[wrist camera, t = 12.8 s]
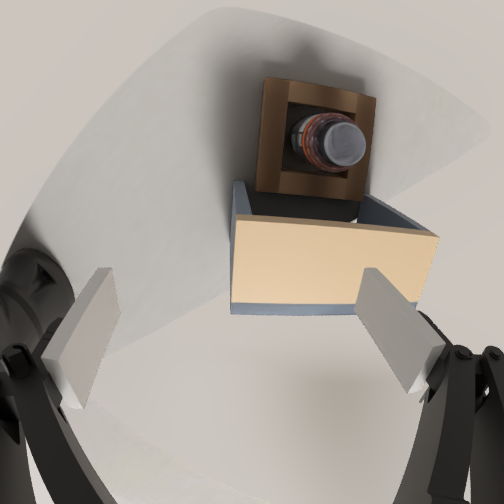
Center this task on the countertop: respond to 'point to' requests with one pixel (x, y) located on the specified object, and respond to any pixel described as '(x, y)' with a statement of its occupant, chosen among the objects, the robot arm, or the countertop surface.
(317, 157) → the supplement bottle
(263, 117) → the socket
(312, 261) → the blue open cabinet
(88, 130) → the countertop surface
